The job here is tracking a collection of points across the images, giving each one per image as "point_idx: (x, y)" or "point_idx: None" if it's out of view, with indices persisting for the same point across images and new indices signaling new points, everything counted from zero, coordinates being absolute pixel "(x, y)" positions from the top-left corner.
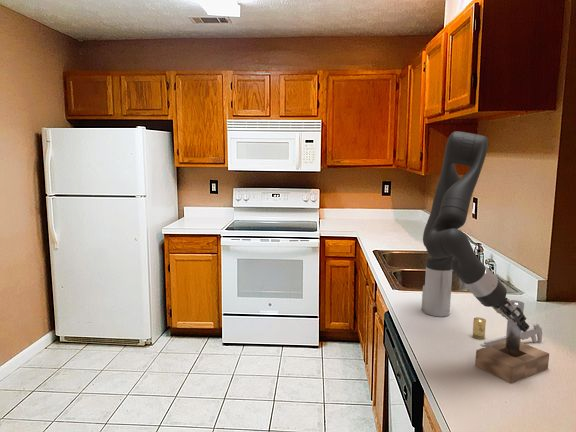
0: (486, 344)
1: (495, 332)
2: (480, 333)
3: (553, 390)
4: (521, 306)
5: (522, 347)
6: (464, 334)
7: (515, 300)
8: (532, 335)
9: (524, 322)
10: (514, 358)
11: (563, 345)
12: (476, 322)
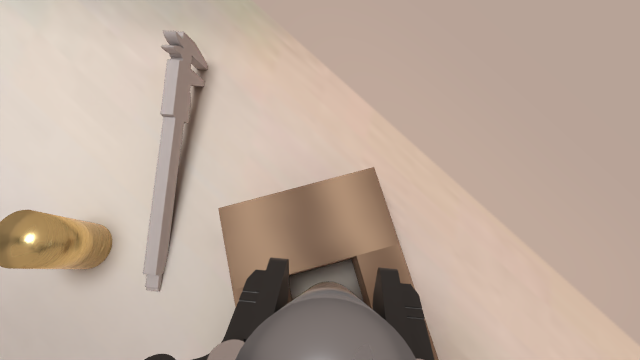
0: (159, 272)
1: (87, 153)
2: (89, 253)
3: (495, 280)
4: None
5: (302, 230)
6: (45, 286)
7: (247, 351)
8: (189, 80)
9: (429, 343)
10: None
11: (247, 22)
12: (30, 266)
